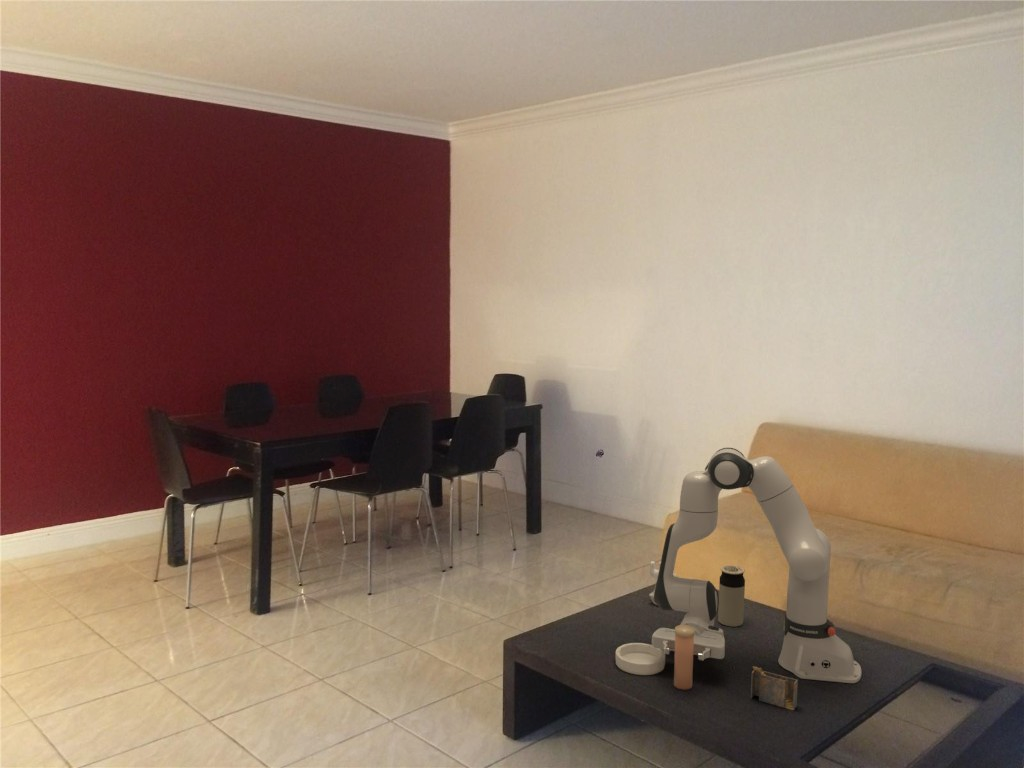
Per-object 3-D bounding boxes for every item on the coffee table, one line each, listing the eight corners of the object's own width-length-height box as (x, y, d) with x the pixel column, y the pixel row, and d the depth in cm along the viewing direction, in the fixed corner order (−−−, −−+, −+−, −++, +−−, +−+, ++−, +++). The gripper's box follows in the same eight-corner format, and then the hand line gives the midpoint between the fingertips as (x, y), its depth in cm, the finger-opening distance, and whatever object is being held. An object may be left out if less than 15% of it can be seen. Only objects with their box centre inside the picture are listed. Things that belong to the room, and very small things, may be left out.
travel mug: (719, 626, 268) (721, 572, 266) (716, 616, 276) (718, 564, 273) (744, 628, 267) (747, 573, 265) (741, 618, 275) (743, 565, 272)
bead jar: (694, 682, 230) (696, 626, 228) (690, 691, 225) (692, 634, 223) (675, 679, 232) (677, 623, 230) (671, 687, 227) (673, 630, 225)
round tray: (669, 658, 245) (669, 647, 245) (658, 678, 232) (658, 667, 232) (622, 649, 250) (623, 639, 250) (610, 669, 237) (610, 659, 237)
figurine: (671, 609, 281) (673, 567, 279) (645, 604, 286) (646, 562, 284) (679, 603, 287) (680, 561, 286) (653, 597, 292) (654, 556, 290)
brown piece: (750, 700, 221) (751, 665, 220) (753, 695, 224) (754, 661, 223) (793, 712, 215) (795, 676, 214) (796, 707, 218) (798, 672, 216)
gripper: (657, 618, 243) (646, 637, 231) (728, 630, 235) (721, 649, 223) (656, 639, 244) (645, 658, 231) (728, 651, 236) (720, 672, 223)
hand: (683, 654), depth 227 cm, fingers open, 8 cm apart
